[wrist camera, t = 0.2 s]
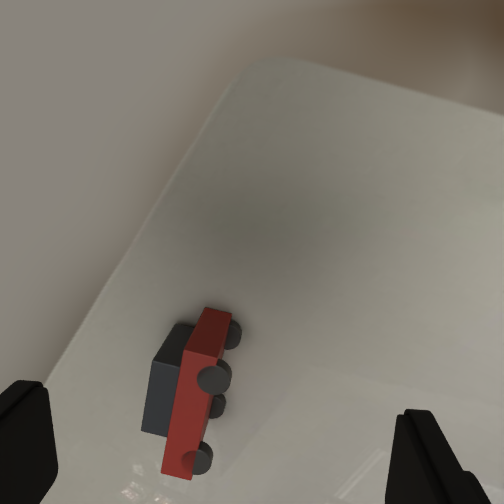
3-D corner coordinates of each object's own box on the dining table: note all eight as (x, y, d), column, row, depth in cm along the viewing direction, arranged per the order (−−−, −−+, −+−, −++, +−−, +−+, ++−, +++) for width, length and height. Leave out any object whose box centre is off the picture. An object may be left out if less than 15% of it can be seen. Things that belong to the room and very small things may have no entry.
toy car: (180, 301, 28) (152, 342, 22) (245, 316, 28) (235, 362, 22) (162, 405, 30) (132, 466, 25) (221, 419, 30) (206, 484, 24)
